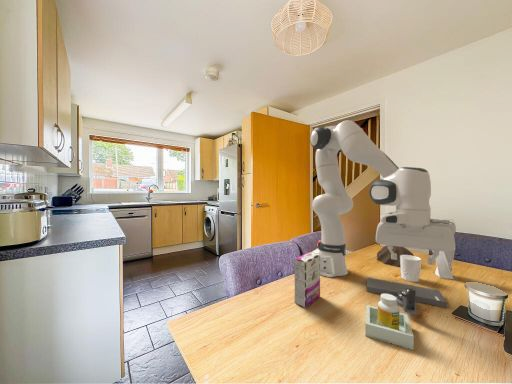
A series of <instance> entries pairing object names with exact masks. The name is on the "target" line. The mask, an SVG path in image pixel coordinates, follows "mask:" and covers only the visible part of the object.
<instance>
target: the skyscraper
mask: <svg viewBox="0 0 512 384" xmlns="http://www.w3.org/2000/svg"><path fill="white" fill-rule="evenodd" d="M448 220H449V221H450V222H453V223H454V224H455V225H456V222H455V220H453V219H448ZM449 224H451V223H449ZM455 252H456V249H455V250H454V251H453V252H445V251H439V256H438V257H437V258H436V259H435V262H436V268H435V272H432V273H433V274H434V275H435V276H436V277H437V278H439V279H444V280H452V281H459V279H458V278H457V277H455V276H454V275H453V273H452V270H453V267H452V265H453V262H454V258H455Z"/></svg>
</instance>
